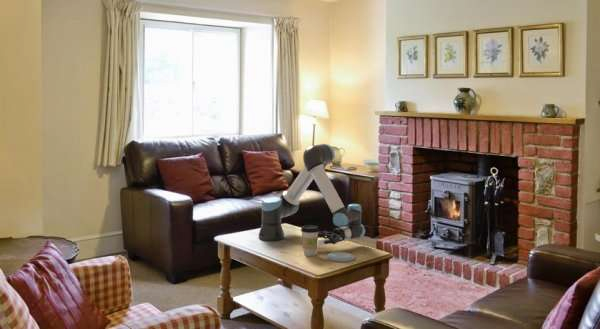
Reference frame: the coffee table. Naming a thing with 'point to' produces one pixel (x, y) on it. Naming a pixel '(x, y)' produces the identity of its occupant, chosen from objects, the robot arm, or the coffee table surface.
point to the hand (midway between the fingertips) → (310, 240)
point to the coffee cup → (309, 239)
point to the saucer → (340, 257)
